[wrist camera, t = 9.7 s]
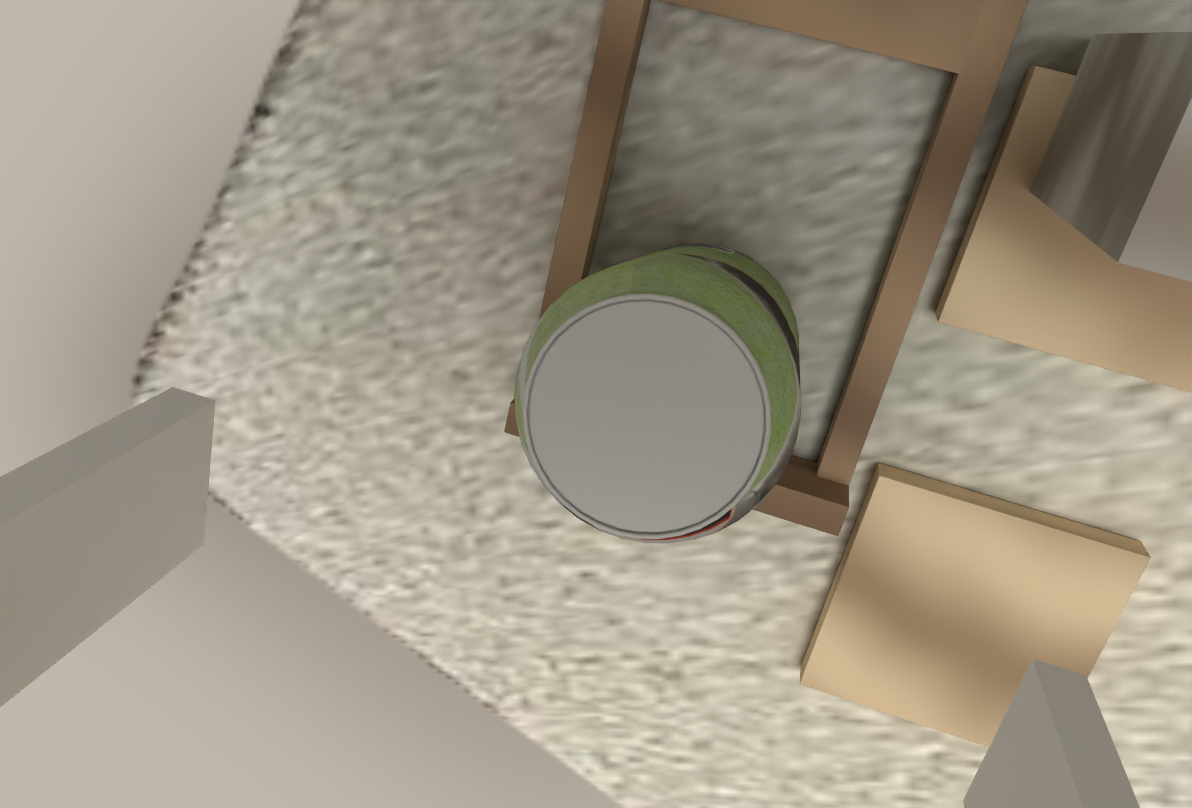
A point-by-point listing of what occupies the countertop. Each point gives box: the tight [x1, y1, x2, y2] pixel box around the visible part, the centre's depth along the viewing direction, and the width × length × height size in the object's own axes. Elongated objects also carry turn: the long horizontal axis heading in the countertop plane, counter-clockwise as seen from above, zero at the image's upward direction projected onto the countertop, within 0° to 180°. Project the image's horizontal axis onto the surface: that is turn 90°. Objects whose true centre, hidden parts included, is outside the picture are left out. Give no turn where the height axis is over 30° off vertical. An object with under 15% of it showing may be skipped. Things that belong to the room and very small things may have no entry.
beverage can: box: [514, 244, 801, 543], centre depth 25 cm, size 6×7×12 cm
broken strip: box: [800, 32, 1192, 747], centre depth 24 cm, size 21×8×10 cm, turn 167°
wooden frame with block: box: [505, 0, 1028, 536], centre depth 23 cm, size 22×10×10 cm, turn 167°
